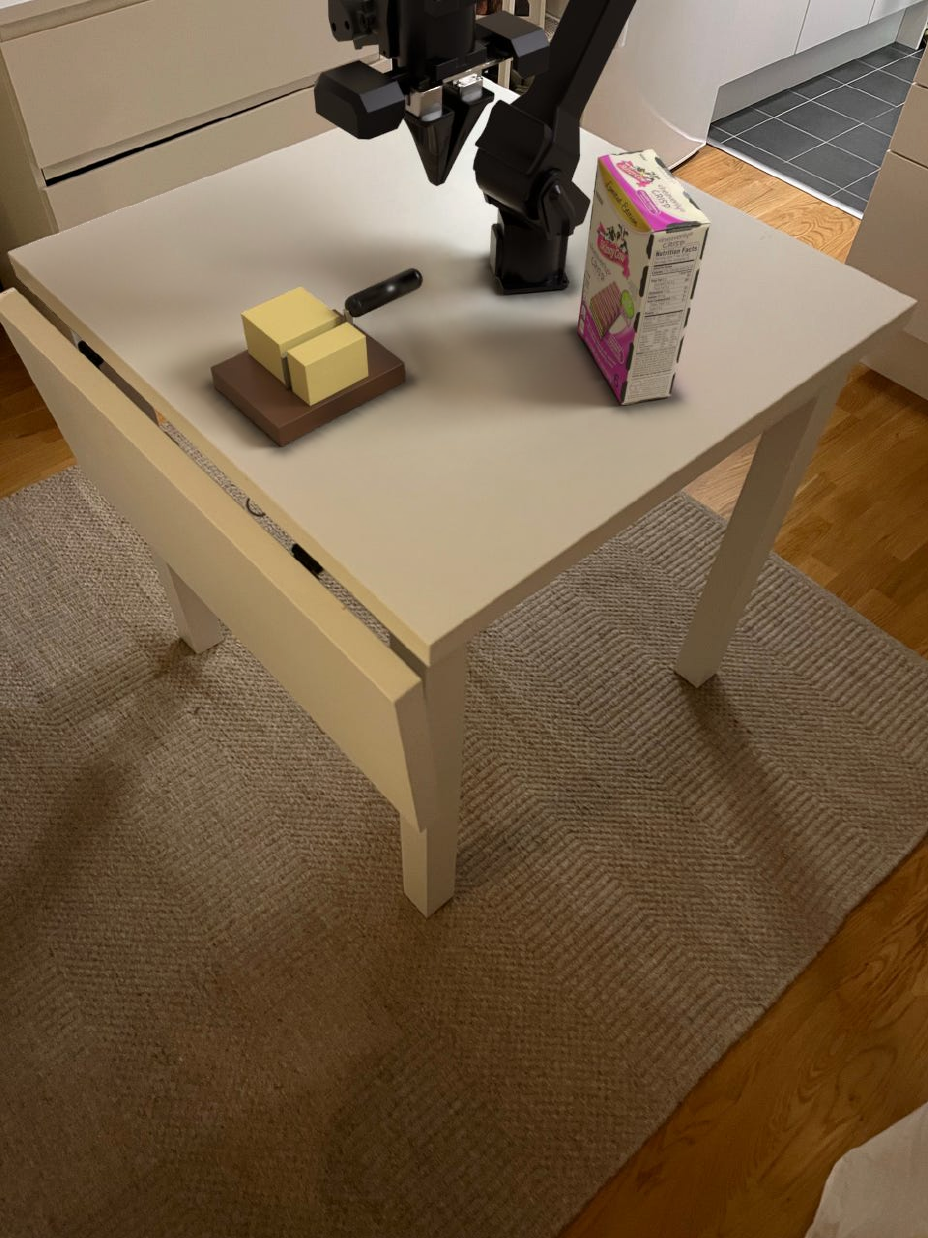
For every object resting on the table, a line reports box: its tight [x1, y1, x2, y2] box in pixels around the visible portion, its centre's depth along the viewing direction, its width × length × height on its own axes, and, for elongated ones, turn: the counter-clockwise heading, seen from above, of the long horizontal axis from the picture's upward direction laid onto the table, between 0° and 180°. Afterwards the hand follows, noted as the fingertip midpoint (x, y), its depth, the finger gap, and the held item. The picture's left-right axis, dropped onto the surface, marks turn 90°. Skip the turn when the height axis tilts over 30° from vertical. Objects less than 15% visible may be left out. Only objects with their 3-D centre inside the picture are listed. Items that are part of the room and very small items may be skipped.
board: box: [209, 308, 407, 448], centre depth 82 cm, size 13×10×2 cm
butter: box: [240, 286, 368, 406], centre depth 80 cm, size 6×9×4 cm, turn 41°
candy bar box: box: [576, 148, 712, 406], centre depth 79 cm, size 11×5×16 cm, turn 17°
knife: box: [281, 267, 424, 388], centre depth 80 cm, size 14×2×5 cm, turn 131°
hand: (436, 182), depth 78 cm, fingers closed
